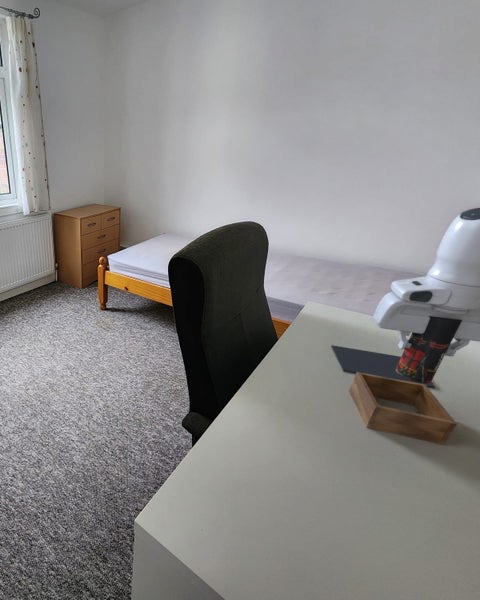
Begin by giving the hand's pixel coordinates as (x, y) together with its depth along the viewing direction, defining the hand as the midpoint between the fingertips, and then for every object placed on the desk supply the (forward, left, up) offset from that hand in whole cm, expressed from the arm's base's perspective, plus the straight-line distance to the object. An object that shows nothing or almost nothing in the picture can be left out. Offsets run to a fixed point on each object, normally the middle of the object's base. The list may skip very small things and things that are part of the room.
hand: (424, 351), depth 73 cm
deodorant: (0, 0, -6) cm, 6 cm away
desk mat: (-4, -23, -18) cm, 29 cm away
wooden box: (0, 0, -18) cm, 18 cm away
